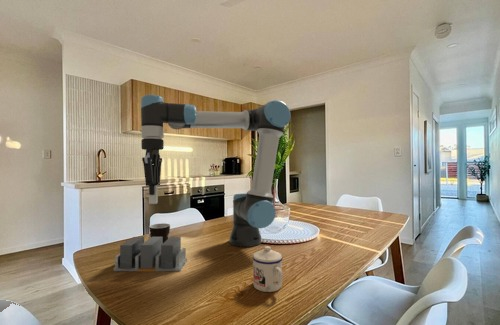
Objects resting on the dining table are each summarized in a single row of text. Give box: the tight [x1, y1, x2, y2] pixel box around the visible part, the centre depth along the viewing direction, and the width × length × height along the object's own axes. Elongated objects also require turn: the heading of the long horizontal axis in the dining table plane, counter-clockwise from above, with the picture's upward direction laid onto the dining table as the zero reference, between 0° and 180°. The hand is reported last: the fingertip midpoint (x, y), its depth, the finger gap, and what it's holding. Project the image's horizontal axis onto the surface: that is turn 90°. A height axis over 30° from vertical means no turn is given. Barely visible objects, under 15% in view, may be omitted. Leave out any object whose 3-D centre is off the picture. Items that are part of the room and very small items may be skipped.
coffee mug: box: [149, 222, 171, 243], centre depth 110 cm, size 12×9×10 cm
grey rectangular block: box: [141, 237, 163, 268], centre depth 90 cm, size 4×10×8 cm, turn 0°
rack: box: [113, 236, 188, 273], centre depth 90 cm, size 23×10×9 cm, turn 90°
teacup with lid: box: [252, 245, 284, 293], centre depth 75 cm, size 12×9×12 cm
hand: (153, 203), depth 91 cm, fingers closed
